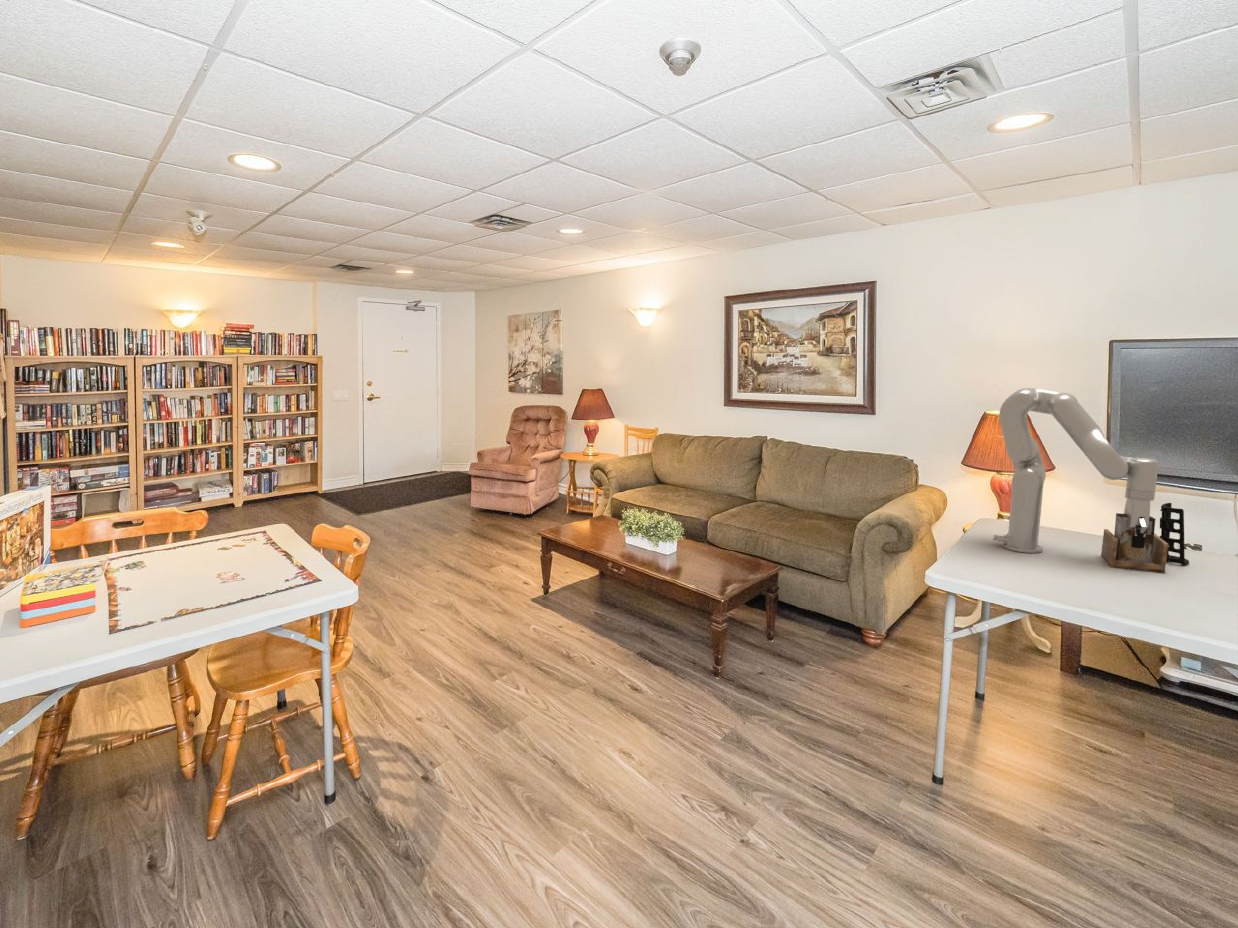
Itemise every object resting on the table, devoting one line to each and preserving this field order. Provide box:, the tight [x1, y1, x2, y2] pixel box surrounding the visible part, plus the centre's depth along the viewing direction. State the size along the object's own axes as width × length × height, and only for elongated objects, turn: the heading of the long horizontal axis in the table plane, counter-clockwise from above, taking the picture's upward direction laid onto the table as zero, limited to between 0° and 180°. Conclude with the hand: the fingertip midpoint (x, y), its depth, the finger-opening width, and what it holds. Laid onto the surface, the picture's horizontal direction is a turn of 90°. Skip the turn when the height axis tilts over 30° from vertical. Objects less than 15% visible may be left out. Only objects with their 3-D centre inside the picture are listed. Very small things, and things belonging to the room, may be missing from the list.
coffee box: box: [1113, 512, 1156, 564], centre depth 206 cm, size 9×6×16 cm
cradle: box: [1100, 528, 1168, 574], centre depth 207 cm, size 14×14×10 cm
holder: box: [1159, 502, 1190, 567], centre depth 209 cm, size 11×8×20 cm
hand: (1133, 544), depth 206 cm, fingers open, 8 cm apart
